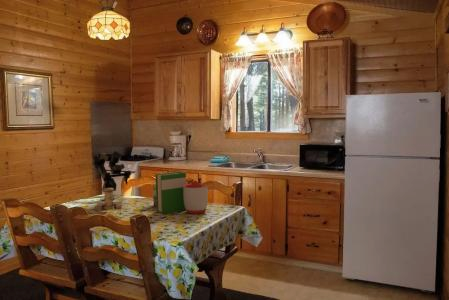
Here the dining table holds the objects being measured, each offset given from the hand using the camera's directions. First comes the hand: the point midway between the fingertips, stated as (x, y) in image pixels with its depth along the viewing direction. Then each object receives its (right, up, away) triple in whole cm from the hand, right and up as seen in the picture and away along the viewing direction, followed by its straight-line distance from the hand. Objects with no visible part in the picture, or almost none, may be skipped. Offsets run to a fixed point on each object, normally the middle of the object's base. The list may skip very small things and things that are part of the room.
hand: (120, 185), depth 264 cm
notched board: (-6, -14, -5) cm, 16 cm away
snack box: (+34, -14, -3) cm, 37 cm away
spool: (-5, -14, -9) cm, 18 cm away
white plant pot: (+54, -15, -22) cm, 60 cm away
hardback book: (+38, -15, -19) cm, 45 cm away
